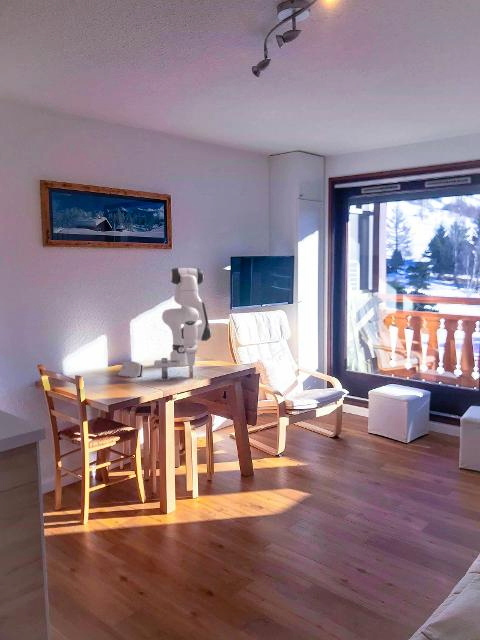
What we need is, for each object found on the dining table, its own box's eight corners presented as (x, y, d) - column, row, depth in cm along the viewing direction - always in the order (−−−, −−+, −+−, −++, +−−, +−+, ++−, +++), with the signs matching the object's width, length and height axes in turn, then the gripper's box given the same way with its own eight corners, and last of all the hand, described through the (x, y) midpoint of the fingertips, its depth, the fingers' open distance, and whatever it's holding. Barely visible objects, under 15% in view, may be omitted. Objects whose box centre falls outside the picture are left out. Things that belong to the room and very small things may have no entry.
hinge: (117, 374, 349) (121, 359, 350) (122, 376, 353) (126, 360, 354) (137, 377, 340) (140, 361, 341) (142, 379, 343) (145, 363, 345)
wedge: (189, 377, 341) (189, 357, 339) (193, 377, 341) (192, 357, 340) (189, 377, 339) (189, 358, 337) (193, 377, 339) (192, 358, 337)
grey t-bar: (155, 378, 338) (154, 357, 337) (179, 377, 340) (179, 356, 339) (154, 381, 329) (153, 360, 327) (179, 380, 330) (179, 359, 329)
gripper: (185, 345, 348) (185, 366, 349) (185, 350, 327) (186, 373, 329) (195, 345, 348) (195, 366, 350) (196, 350, 328) (196, 373, 330)
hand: (191, 370), depth 339 cm, fingers open, 8 cm apart
